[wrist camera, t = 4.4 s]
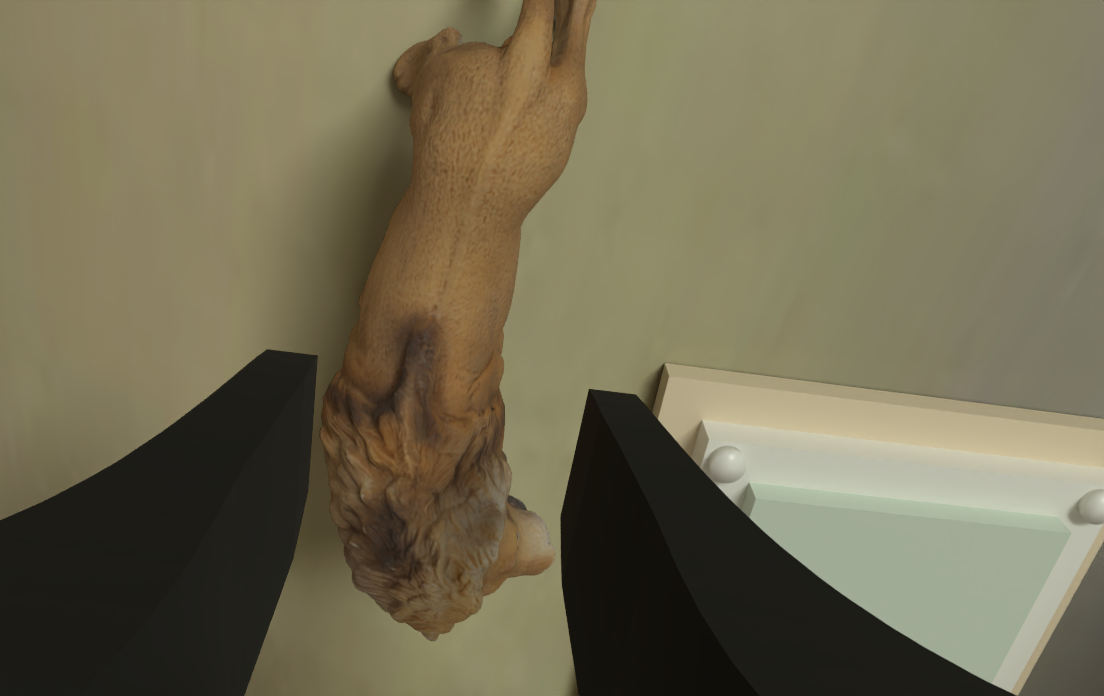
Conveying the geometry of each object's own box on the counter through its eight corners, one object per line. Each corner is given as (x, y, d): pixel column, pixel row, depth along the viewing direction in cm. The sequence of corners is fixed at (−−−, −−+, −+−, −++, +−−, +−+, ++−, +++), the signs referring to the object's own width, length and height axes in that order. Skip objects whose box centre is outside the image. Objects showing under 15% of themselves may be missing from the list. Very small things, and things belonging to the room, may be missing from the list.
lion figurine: (536, 438, 23) (554, 680, 16) (348, 425, 22) (291, 669, 16) (613, -125, 17) (687, -96, 11) (365, -158, 17) (289, -148, 10)
